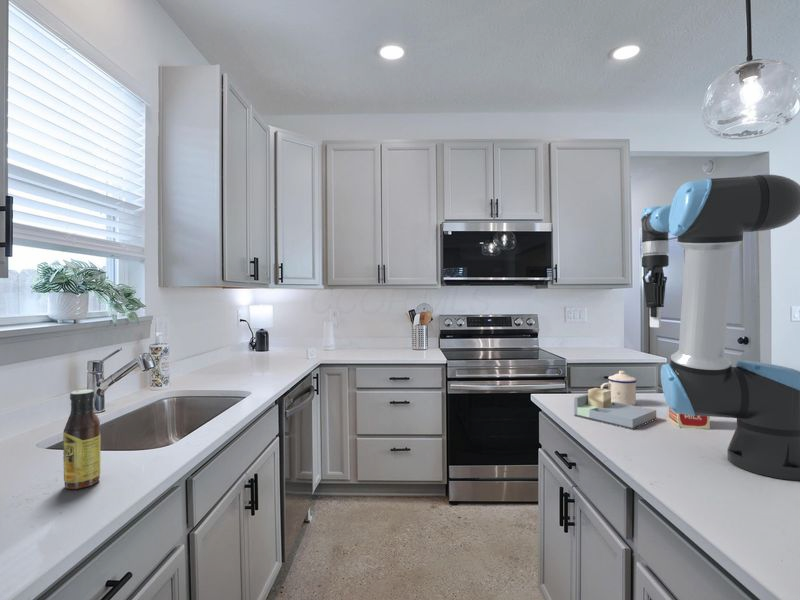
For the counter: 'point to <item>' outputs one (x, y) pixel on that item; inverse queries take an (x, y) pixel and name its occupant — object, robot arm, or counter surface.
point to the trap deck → (613, 413)
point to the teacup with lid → (622, 388)
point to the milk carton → (689, 420)
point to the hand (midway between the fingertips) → (655, 327)
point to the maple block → (599, 397)
